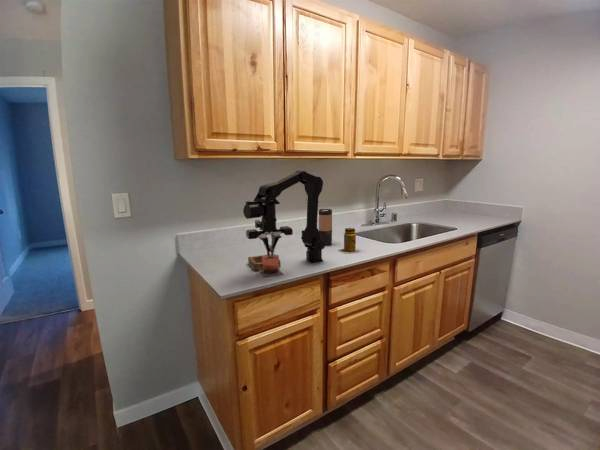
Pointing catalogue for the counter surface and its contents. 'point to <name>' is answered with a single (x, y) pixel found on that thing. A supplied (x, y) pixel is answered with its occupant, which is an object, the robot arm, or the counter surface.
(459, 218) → the counter surface
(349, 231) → the condiment
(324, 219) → the travel mug
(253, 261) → the holder
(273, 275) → the mat
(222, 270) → the counter surface
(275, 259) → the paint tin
